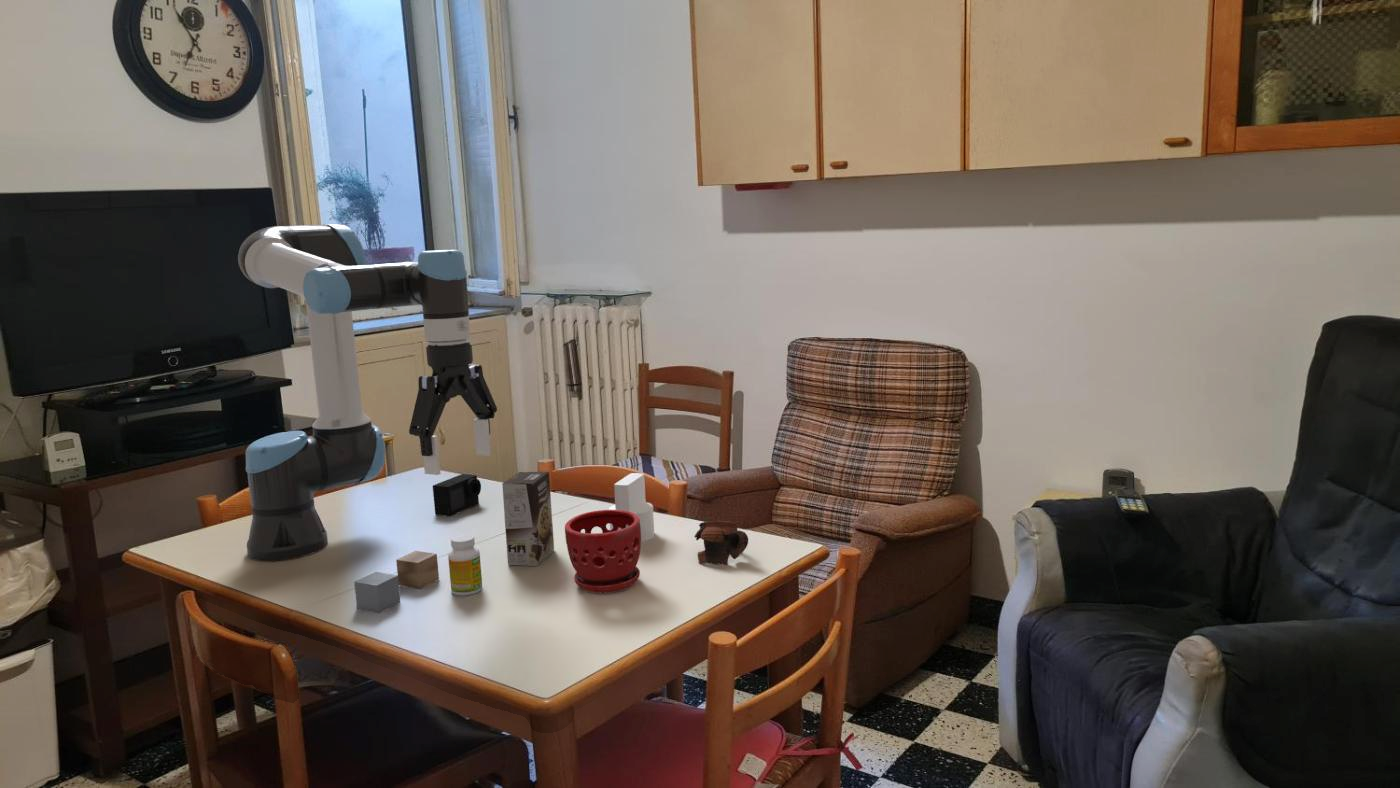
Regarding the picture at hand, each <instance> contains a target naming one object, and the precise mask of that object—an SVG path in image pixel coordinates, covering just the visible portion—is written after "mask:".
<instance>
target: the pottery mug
mask: <svg viewBox="0 0 1400 788" xmlns="http://www.w3.org/2000/svg"><path fill="white" fill-rule="evenodd" d="M698 526H699V530H697V532H696V533H695V535H694V538H695V541H699V540H700V539H701V540H703V548H704V550H702V551H698V552H697V558H698V559H697V560H698V564H699V565H700V564H701V565H702V564H703V565H704V564H713V565H729V563H728V562H729V557H730V556H731V558H732V559H734V560H736V559H737V558H739V556H740V554H742V553H743V552H744V551H745V550H746V549H747V547H748V545H749V537H748V535H747V533H746V532H745V531H742V530H738V527H739V525H738V524H737V523H735V522H732V521H727V520H726V521H724V520H709V521H704V522H701V523H699V525H698Z"/></svg>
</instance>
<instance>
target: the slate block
mask: <svg viewBox="0 0 1400 788" xmlns="http://www.w3.org/2000/svg"><path fill="white" fill-rule="evenodd" d="M353 583H354V584H353V585H354V591H355V592H354V593H355V602H356V609H357V610H359V611H366V612H371V613H374V614H380V613H382V612H385V611H386V610H389V609H390V608H392V607H395V606H396V605H398V604H400V603H401V595H400V586H399V582H398V574H392V573H386V572H379V571H374V572H372V573H369V574H368V575H366V576H363V577H362V578H361V577H360V578H358V579H356V580H354V581H353Z"/></svg>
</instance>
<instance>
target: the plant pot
mask: <svg viewBox="0 0 1400 788" xmlns="http://www.w3.org/2000/svg"><path fill="white" fill-rule="evenodd" d="M608 524H609V525H610V524H612V525H613V529H612V530H610V529H608V528H607V525H608ZM626 525H628V527H626ZM593 528H600V529H601V533H600V532H599V533H598V532H597V533H595V532H594V533H593V532H592V530H593ZM618 528H621V530H618ZM582 530H584V532H581V531H582ZM564 534H565V542H566V547H567V552H568V556H569V560H570V562H571V565H572V567H573V569H574V571H575V574H574V576H573V577H574V578H573V579H574V583H575V585H577V587H579V588H580V589H582V590H583V591H586V592H588V593H593V594H611V593H616V592H620V591H621V592H622V591H623V592H624V591H625V590H626V589H628V588H630V587H632V586H633V585H635V584H636V582H637V581H638V580H639V578H640V576H641V574H640V573H641V572H640V569H639V567H637V565H638V562H639V560H640V554H641V547H642V542H641V528H640V520H639V518H638V516H637V515H636V514H634V513H632V512H628V511H623V510H609V509H602V510H593V511H588V512H584V513H581V514H578V515H576V516H574V517H571V519H569V520H568V521H566V523H565V525H564ZM633 542H634V543H633Z"/></svg>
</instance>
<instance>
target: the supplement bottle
mask: <svg viewBox="0 0 1400 788" xmlns="http://www.w3.org/2000/svg"><path fill="white" fill-rule="evenodd" d="M475 543H476V541H475V536H474V535H472V534H459V535H455V536H453V537H451V538H450V546H451V550H450V551H449V552H448V554H447V557H448V558H447V560H448V570H449V579H450V581H449V582H450V590H451V593H452V594H453V595H456V596H458V597H459V596H471V595H474V594H477V593H479V592H480V591H481V590H482V589H483V577H482V576H483V575H482V566H481V565H482V563H481V554H480V550H479V548H478V547H476V546H475Z"/></svg>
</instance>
